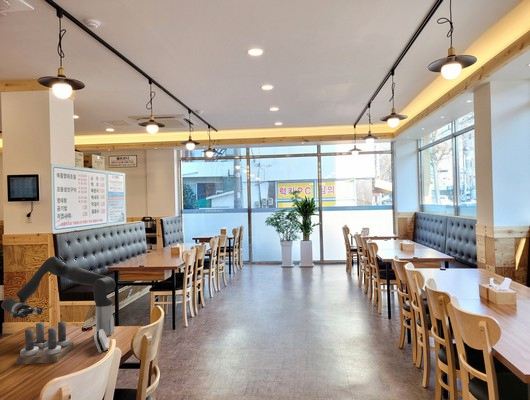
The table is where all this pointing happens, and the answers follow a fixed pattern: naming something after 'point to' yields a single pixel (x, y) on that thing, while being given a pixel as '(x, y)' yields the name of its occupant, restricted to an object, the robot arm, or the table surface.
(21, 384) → the table surface
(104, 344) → the white arched grooved block
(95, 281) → the robot arm
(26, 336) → the upturned partly assembled table
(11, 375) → the table surface
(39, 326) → the loose leg
